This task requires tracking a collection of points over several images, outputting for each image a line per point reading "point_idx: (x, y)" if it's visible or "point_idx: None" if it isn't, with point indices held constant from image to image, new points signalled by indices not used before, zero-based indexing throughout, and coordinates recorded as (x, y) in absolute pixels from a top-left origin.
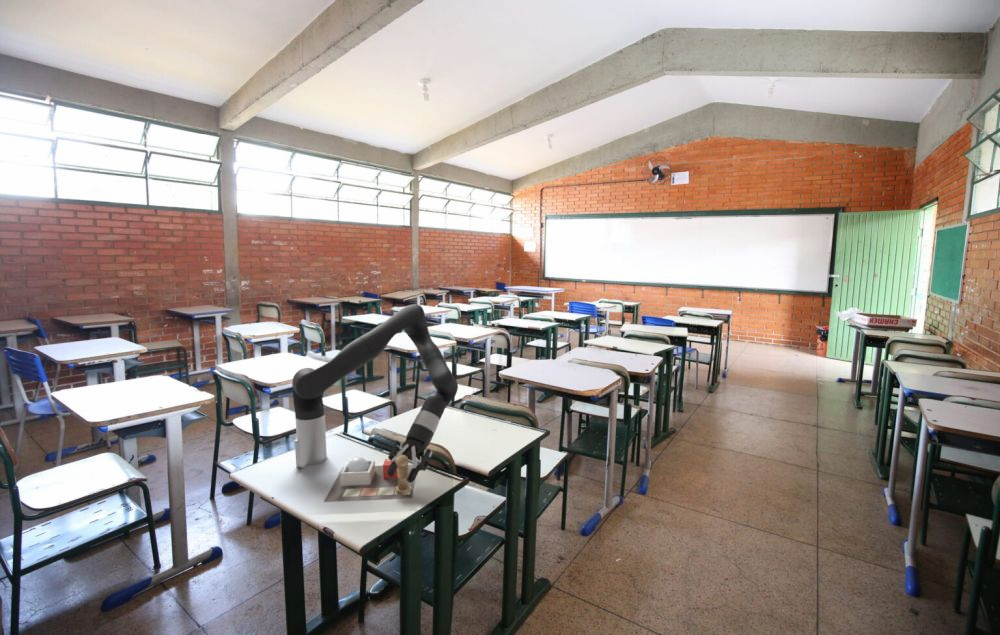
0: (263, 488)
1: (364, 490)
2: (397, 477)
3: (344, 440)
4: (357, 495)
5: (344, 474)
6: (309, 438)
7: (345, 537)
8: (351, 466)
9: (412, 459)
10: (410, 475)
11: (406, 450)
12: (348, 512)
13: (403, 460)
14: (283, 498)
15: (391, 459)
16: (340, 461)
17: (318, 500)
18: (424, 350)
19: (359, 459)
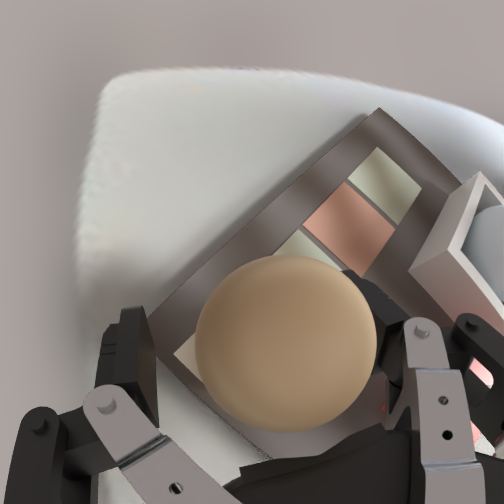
0: (497, 124)
1: (375, 221)
2: (383, 410)
3: None
4: (354, 179)
5: (473, 180)
6: None
7: (170, 69)
8: (502, 206)
9: (167, 443)
10: (118, 332)
11: (410, 484)
12: (289, 129)
13: (214, 305)
14: (452, 110)
15: (444, 332)
16: None
17: (413, 133)
18: None
19: None
